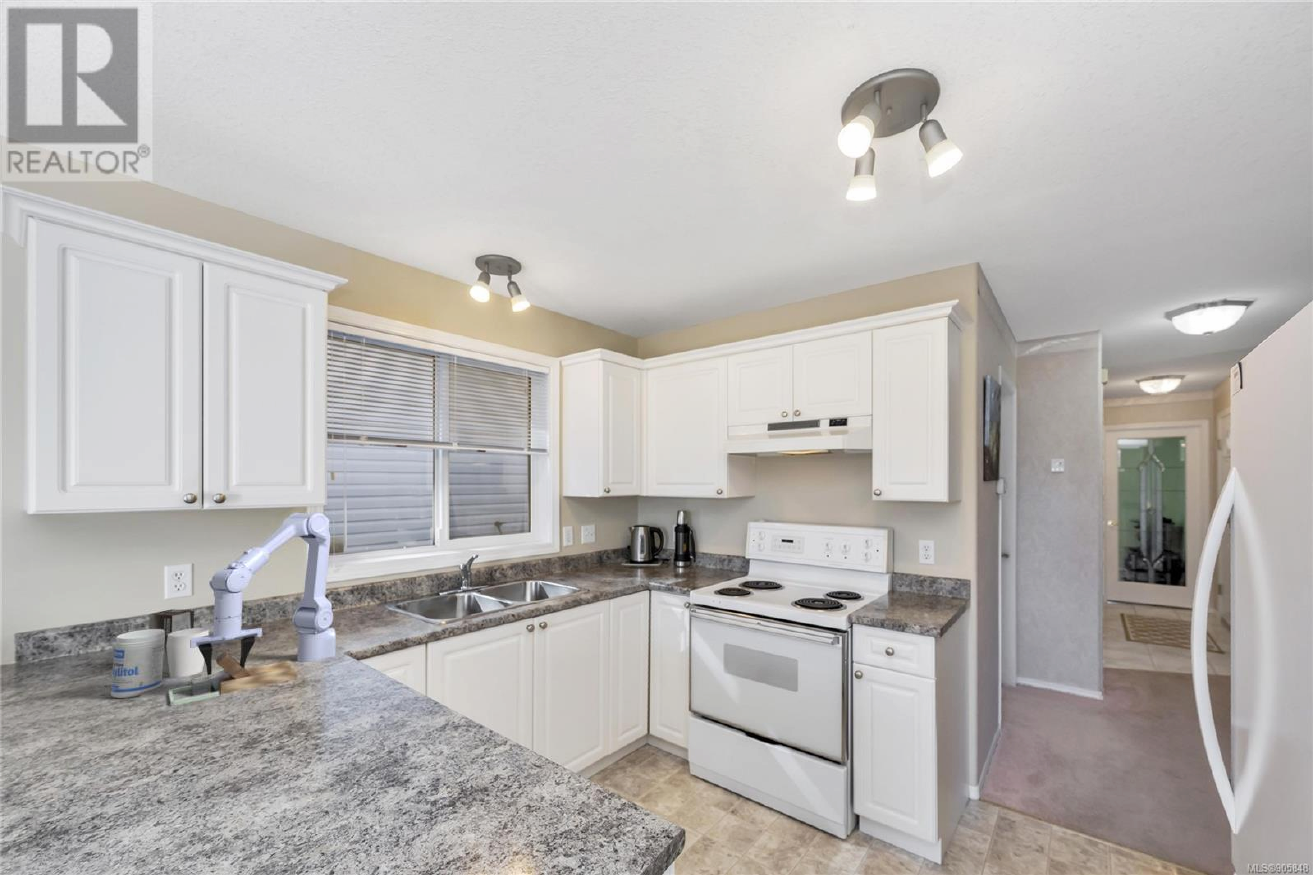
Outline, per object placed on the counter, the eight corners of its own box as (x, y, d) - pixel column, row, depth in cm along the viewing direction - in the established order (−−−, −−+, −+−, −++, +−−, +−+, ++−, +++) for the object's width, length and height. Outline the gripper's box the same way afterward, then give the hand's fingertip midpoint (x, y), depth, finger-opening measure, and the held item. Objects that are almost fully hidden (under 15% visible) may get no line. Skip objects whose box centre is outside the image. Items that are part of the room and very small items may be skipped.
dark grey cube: (208, 690, 142) (209, 676, 143) (210, 694, 140) (211, 679, 140) (190, 694, 140) (191, 680, 140) (192, 698, 138) (193, 683, 138)
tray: (213, 687, 146) (214, 680, 146) (218, 699, 138) (219, 692, 138) (168, 697, 139) (168, 689, 140) (170, 710, 131) (170, 702, 132)
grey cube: (230, 681, 145) (226, 668, 145) (232, 684, 143) (228, 672, 142) (214, 688, 143) (209, 675, 143) (215, 692, 140) (211, 679, 140)
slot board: (288, 672, 156) (289, 660, 157) (296, 682, 149) (296, 668, 149) (216, 687, 145) (216, 674, 146) (220, 698, 138) (221, 684, 138)
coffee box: (193, 666, 163) (196, 610, 164) (169, 673, 157) (172, 615, 158) (169, 664, 165) (172, 608, 166) (145, 671, 159) (148, 613, 160)
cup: (169, 684, 148) (171, 638, 149) (160, 678, 153) (162, 633, 154) (211, 675, 155) (213, 630, 156) (201, 668, 161) (203, 626, 162)
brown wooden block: (251, 673, 149) (225, 651, 145) (253, 678, 145) (227, 655, 142) (242, 681, 147) (215, 659, 144) (244, 686, 144) (217, 663, 140)
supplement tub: (101, 701, 137) (105, 640, 138) (124, 687, 146) (128, 630, 147) (149, 696, 140) (152, 636, 141) (169, 683, 149) (172, 627, 150)
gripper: (192, 624, 136) (190, 681, 135) (264, 614, 146) (262, 667, 145) (190, 619, 141) (187, 674, 140) (260, 609, 151) (258, 661, 150)
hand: (225, 670), depth 143 cm, fingers open, 6 cm apart
